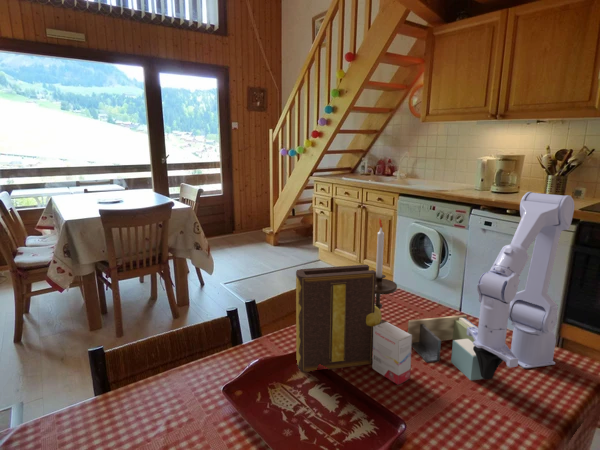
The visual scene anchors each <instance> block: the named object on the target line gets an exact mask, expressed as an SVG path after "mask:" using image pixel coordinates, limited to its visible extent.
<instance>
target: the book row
mask: <svg viewBox="0 0 600 450" xmlns="http://www.w3.org/2000/svg"><path fill="white" fill-rule="evenodd" d="M467 327H475V328H477V329H478V325H475V324H474V323H472V322H471V321H470V320H469V319H466V318H459V320H455V321H454V331H453V339H452V341H453V340H460V339H469V340H471V341H472V342H474V341H475V340H474V338H473V337H472V336H468V335H467Z"/></svg>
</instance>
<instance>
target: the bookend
mask: <svg viewBox="0 0 600 450" xmlns="http://www.w3.org/2000/svg"><path fill="white" fill-rule="evenodd" d="M441 344H442V341H441V340H440V339H439V338H438V337H437V336H436V335H435V334H434V333H432V332H431V331H430V330H429V329H428V328H427V327H426V326H425V325H424V324H420V336H419V342H414V343H411V348H412V349H414V350H415V352H416V353H417V354H418V355H419V356H420V357H421V358H422V359H423V360H424V362H426V363H435V362H440V358H441V348H442V347H441V346H442V345H441Z"/></svg>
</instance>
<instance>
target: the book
mask: <svg viewBox="0 0 600 450" xmlns="http://www.w3.org/2000/svg"><path fill="white" fill-rule="evenodd" d="M375 286H376V270H375V269H371V270H370V265H368V264H356V265H354V264H353V265H341V266H328V267H327V266H325V267H313V268H311V267H310V268H302V269H301V268H299V269H297V270H296V271H295V292H296V293H295V295H296V297H295V302H296V303H295V305H296V306H295V310H296V311H295V312H296V313H295V318H296V319H295V321H296V323H295V324H296V325H295V331H296V333H295V334H296V335H295V337H296V339H295V343H296V345H295V346H296V347H295V348H296V349H295V350H296V359H295V360H297V363H296V366H297V365H298V366H297V369H298V368H299V369H300V370H301V371H300V370H299V369H298V370H299V371H300V372H302V373H311V372H310V371H312V372H314V371H313V370H317V368H318V365H319V364H321V365H323V366H325V367H327V368H329V369H328V370H333V369H335V370H336V369H340V368H341V369H343V368H349V367H350V368H351V367H358V366H366V365H367V366H368V365H373V326H376V325H378V324H380V322H381V320H382V317H383V316H382V311H381V309H379V308H378V307H376V306H375V303H376V294H375Z"/></svg>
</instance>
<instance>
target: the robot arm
mask: <svg viewBox="0 0 600 450" xmlns="http://www.w3.org/2000/svg"><path fill="white" fill-rule="evenodd" d="M574 200H575V199H573V197H572V196H571V195H570V194H569V195H567V194H566V195H560V194H549V193H540V192H538V193H537V192H532V191H528V192H525V194H524V195H522V198H521V199H520V203H519V215H520V218H521V219H520V221H519V223H518V225H517V228H516V230H515V233H514V234H513V237H512V240H511V242H510V244H506V245H504V246H502V248H501V250H500V251H499V253H498V254H497V256H496V259H495V260H494V262H493V263H492V266H491V268H489V270H488V271H487V272H483V273H482V274H481V275H480V277H479V279H478V282H477V284H476V290H477V293H478V301H479V303H480V308H479V318H478V325H477V327H478V329H477V328H475V327H467V335H468V336H472V337H473V338H474V340H475V341H474V342H473V345H475V346H474V347H473V350H474V352H475V354H476V356H477V359H478V362H479V367H480V373H481V377H483V378H484V379H483V380H492V379H493V378H494V375H495V374H496V371H497V369H498V368H499V366H500V365H501V364H502V363H503V362H505V365H506V367H508V368H515V367H519V366H520V367H521V368H522V369H531V368H537V367H545V366H551V365H552V366H553V365H556V362H555V361H554V355H555V348H556V336H555V333H554V329H555V328H556V325H557V322H558V321H557V320H558V308H559V307H558V304H557V303H556V301H554V300H553V299H552V297H551V296H550V295H549V293H548V291H549V285H550V281H551V277H552V273H553V269H554V264H555V259H556V256H557V251H558V246H559V241H560V237H561V234H562V231H568V230H570V226H571V224H572V221H573V217H574V212H575V201H574ZM533 242H534V244H533ZM532 244H533V249H532V255H531V259H530V256H529V253H528V252H527V251H528V250H529V248H530V247H531V245H532ZM529 259H530V263H529V264H530V265H529V269H528V274H527V278H526V282H525V287H524V289H523V290H520V291H518V288H519V285H520V281H521V280H520V276H521V274H522V272H523V270H524V268H525V267H526V265H527V263H528V261H529ZM510 321H511V325H512V326H513V329H512V337H511V345H510V347H509V346H508V344H506V339H507V331H508V324H509V322H510ZM518 365H519V366H518Z"/></svg>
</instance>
